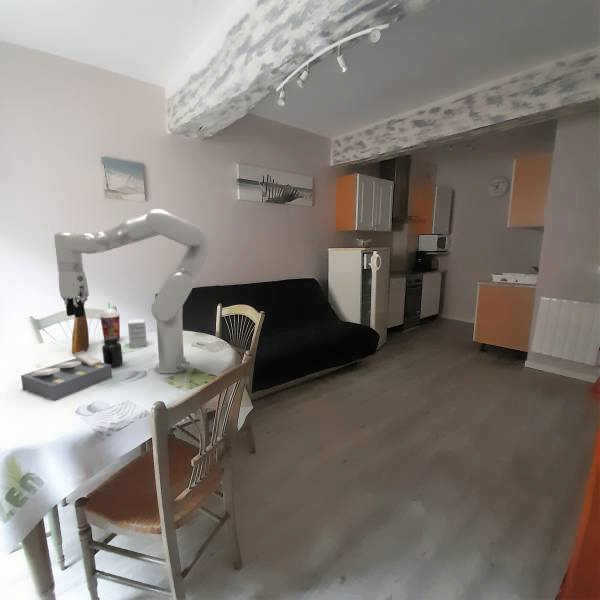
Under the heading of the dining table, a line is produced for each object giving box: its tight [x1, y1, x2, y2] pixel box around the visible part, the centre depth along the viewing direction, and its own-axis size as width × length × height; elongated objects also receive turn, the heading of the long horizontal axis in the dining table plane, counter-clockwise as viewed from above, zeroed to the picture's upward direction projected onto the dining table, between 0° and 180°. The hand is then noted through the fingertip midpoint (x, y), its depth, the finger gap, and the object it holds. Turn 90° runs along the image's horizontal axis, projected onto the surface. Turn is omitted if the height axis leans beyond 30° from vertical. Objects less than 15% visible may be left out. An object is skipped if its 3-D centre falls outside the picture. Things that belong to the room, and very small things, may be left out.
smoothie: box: [99, 302, 121, 342], centre depth 160 cm, size 8×8×20 cm
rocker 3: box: [73, 351, 101, 366], centre depth 121 cm, size 10×4×1 cm, turn 66°
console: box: [20, 357, 113, 401], centre depth 116 cm, size 18×20×6 cm
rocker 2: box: [53, 361, 81, 368], centre depth 115 cm, size 10×4×1 cm, turn 66°
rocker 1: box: [31, 367, 60, 376], centre depth 109 cm, size 10×4×1 cm, turn 66°
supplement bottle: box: [101, 336, 124, 369], centre depth 132 cm, size 7×7×12 cm
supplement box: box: [127, 318, 148, 349], centre depth 156 cm, size 7×7×13 cm
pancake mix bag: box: [71, 296, 90, 356], centre depth 147 cm, size 7×19×28 cm, turn 25°
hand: (75, 315), depth 120 cm, fingers open, 3 cm apart
